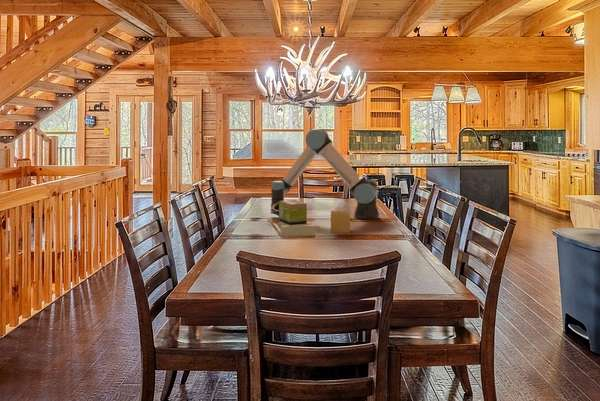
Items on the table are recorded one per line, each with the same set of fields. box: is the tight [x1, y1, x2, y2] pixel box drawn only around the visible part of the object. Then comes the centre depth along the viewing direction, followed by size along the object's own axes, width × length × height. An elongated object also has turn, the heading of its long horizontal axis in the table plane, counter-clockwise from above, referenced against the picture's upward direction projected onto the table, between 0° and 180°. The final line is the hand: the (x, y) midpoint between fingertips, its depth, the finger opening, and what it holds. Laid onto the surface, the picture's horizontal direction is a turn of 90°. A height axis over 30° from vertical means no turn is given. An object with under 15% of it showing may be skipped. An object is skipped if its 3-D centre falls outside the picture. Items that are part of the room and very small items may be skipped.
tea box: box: [278, 199, 308, 228], centre depth 274 cm, size 15×10×15 cm
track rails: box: [267, 217, 281, 231], centre depth 287 cm, size 17×38×2 cm, turn 11°
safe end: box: [276, 224, 316, 237], centre depth 262 cm, size 17×14×5 cm
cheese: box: [330, 210, 351, 234], centre depth 269 cm, size 10×11×10 cm
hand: (285, 215), depth 281 cm, fingers closed
